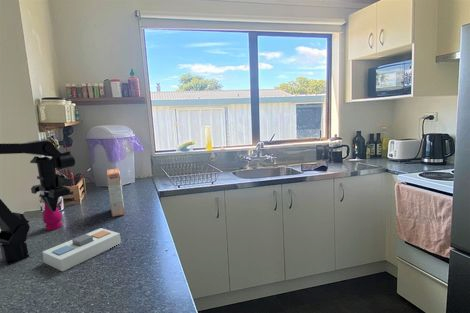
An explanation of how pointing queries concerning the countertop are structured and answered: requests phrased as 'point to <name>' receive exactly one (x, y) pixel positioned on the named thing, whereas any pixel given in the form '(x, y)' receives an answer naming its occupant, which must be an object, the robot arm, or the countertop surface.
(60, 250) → the key slate
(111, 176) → the cracker box
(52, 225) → the pepper mill
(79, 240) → the key charcoal
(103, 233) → the tan square block
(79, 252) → the keypad
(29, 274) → the countertop surface
